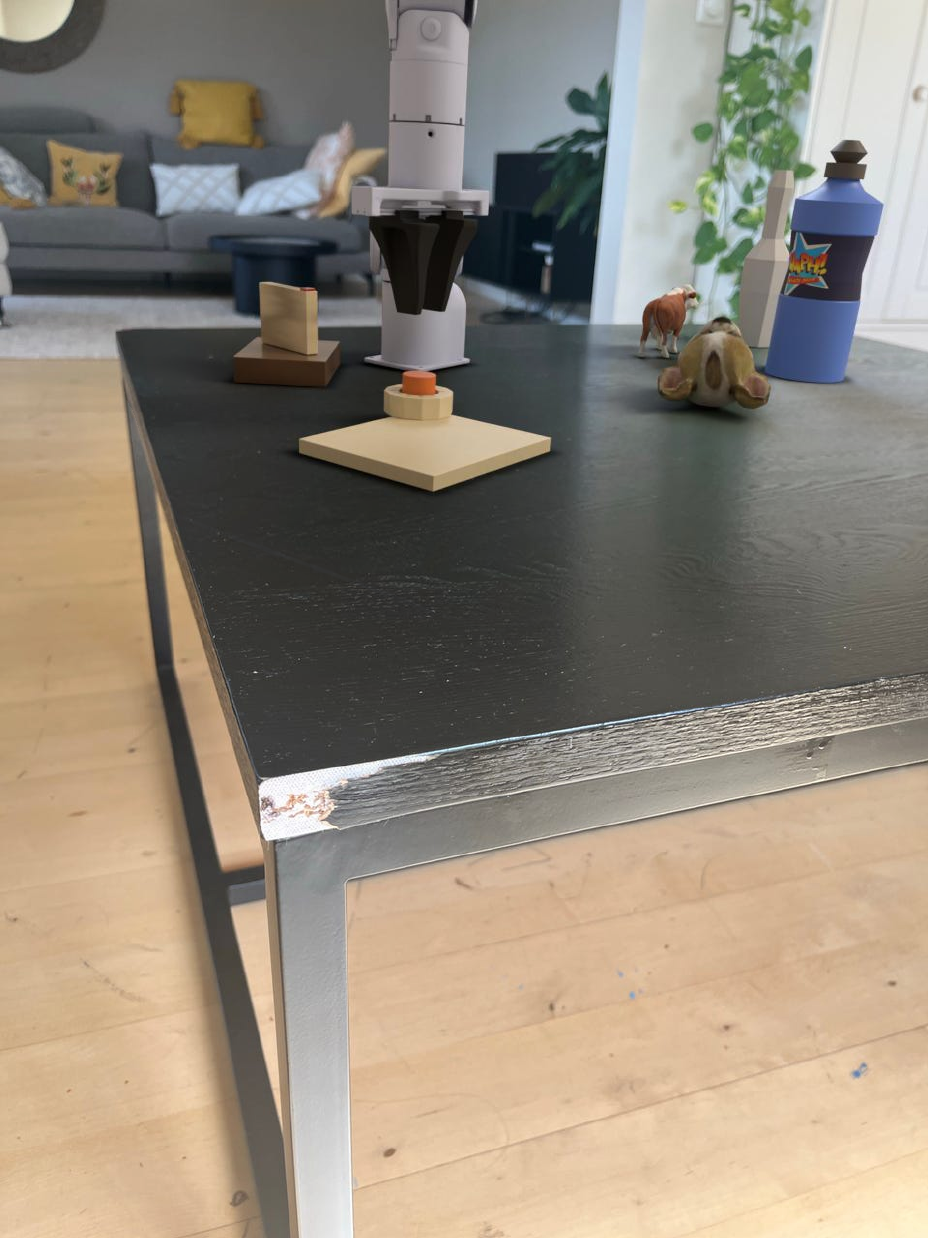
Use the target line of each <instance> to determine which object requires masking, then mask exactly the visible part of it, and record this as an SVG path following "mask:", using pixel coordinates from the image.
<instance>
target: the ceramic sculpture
mask: <svg viewBox="0 0 928 1238" xmlns="http://www.w3.org/2000/svg"><path fill="white" fill-rule="evenodd" d="M771 390H772V385H771V384H770V383H769V379H768V377H767V376H766V375H764V374H761V373H759V372H757V370H756V368H755V361H754V355H753V353H752V350H751V349H750V347H748V345H747V343H746V342H745V340H744V339H743V338H742V336H741V333H740V330H739V328H738V325H737V324H736V323H735V322H733V321H732V320H731V319H730V318H728V317H725V316H718V317H715V318H714V319H712V320H710V321H708V322H707V323H705V324H704V325H703V326H702V327H701V329H700V330H699V331H698V332H697V333H696V334H695V335H693V336H692V337H691V338H690V339H689V341H688V342H687V344H686V345H684V347H683V348H682V350H681V351H680V352H679V354H678V358H677V362H676V363H675V365H673V366H667V367H664V368H663V369H662V370H661V373H660V374H659V375H658V377H657V393H658V395H659V396H660V397H661V398H662V399H664V400H665V401H668V402H670V403H671V402H672V403H678V402H681V401H683V400H685V399H686V398H687V399H688V400H689V401H690V402H692V403H693V404H695V405H698V406H702V407H710V408H723V407H727V406H730V405H731V404H734V403H737V404H739V406H740V407H742V408H743V409H747V410H756V409H758V408H762V407H764V406H765V405H766V404H768V402H769V399H770V395H771Z"/></svg>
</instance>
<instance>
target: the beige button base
mask: <svg viewBox="0 0 928 1238" xmlns="http://www.w3.org/2000/svg"><path fill="white" fill-rule="evenodd" d="M453 405H454V391H453V390H451V389H450V388H447V387H445V386H440V385H436V389H435V395H421V396H420V395H409V394H404V393H402V383H400V384H394V385H389V386H387V387H385V389H383V412H384V413H385V414H387V415H388V417H385V418H380V419H376V420H372V421H367V422H363V423H360V424H359V423H358V424H355V425H350V426H347V427H343V428H338V429H334V430H330V431H326V432H322V433H318V434H313V435H309V436H305V437H299V439H298V453H299V454H302V455H305V456H308V457H312V458H315V459H319V460H322V461H326V462H329V463H332V464H337V465H339V466H343V467H347V468H350V469H354V470H357V471H361V472H364V473H367V474H371V475H374V476H378V477H381V478H384V479H389V480H392V481H394V482H399V483H403V484H406V485H409V486H412V487H416V488H420V489H423V490H425V491H426V490H427V491H430V492H435V491H438V490H442V489H444V488H447V487H450V486H453V485H456V484H458V483H462V482H465V481H467V480H470V479H473V478H476V477H478V476H479V477H480V476H482V475H485V474H487V473H491V472H494V471H496V470H499V469H502V468H506V467H508V466H511V465H514V464H517V463H520V462H522V461H527V460H528V459H532V458H534V457H537V456H540V455H543V454H545V453H549V452H551V444H552V437H549V436H546V435H542V434H541V435H540V434H537V433H533V432H528V431H523V430H521V429H514V428H511V427H507V426H502V425H497V424H493V423H489V422H485V421H480V420H476V419H471V418H467V417H463V416H458V415H455V414H452V413H453V408H454V407H453Z"/></svg>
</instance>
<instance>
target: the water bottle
mask: <svg viewBox="0 0 928 1238" xmlns="http://www.w3.org/2000/svg"><path fill="white" fill-rule="evenodd" d="M829 152H830V155H831V156H832V157H833V159H834V161H835V162H834V161H833V162H829V161H828V162H827V161H826V163H825V167H824V173H823V178H826V180H825V181H824V182H823V183H821V185H820V186H818V187H817V188H815V189H813V190H811V191H809V192H807V193H805V194H803V195H800V196H798V197H796V198H795V199H794V204H793V209H792V215H791V220H790V225H789V229H790V237H789V249H788V252H789V263H788V269H787V273H786V276H785V279H784V282H783V285H782V288H781V291H780V293H779V298H778V303H777V308H776V313H775V318H774V324H773V329H772V334H771V340H770V345H769V347H768V351H767V355H766V361H765V367H764V373H765V374H767V375H769V376H773V377H776V378H780V379H784V380H790V381H796V382H805V383H815V384H816V383H818V384H831V383H832V384H833V383H840V382H843V381H844V380H845V375H846V370H847V366H848V362H849V358H850V352H851V349H852V343H853V339H854V335H855V331H856V327H857V326H856V325H857V320H858V316H859V311H860V307H861V301H862V300H861V297H862V286H863V285H862V284H863V274H864V271H865V268H866V266H867V265H866V264H867V262H868V259H869V256H870V253H871V250H872V246H873V244H874V242H875V237H877V235H878V232H879V228H880V225H881V224H880V223H881V220H882V219H881V218H882V215H883V210H884V206H885V204H884V203H883V202H882V201H880V200H879V199H877V198H876V197H874V196H873V195H872V194H870V193H868V191H866V190H865V188H864V186H863V185H862V183H861V180H865V177H866V171H867V167H868V164H866V163H860V161H861V160H863V159H864V158H865V157H866V156H867V155H868V154H869V152H868V151H867V149H866V148H865V146H864V145H863V143H862V141H861V140H857V139H842V140H841V141H840V142H839V143H838V144H836V145H835V146H834V147H833V148H832V149H831V150H830V151H829Z"/></svg>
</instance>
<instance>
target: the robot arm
mask: <svg viewBox="0 0 928 1238" xmlns="http://www.w3.org/2000/svg"><path fill="white" fill-rule="evenodd" d="M384 3H385V14H386V19H387V27H388V28H387V30H388V51H389V53H390V54H391V60H390V62H389V105H388V106H389V107H388V109H389V113H388V117H389V118H388V120H389V122H388V168H387V169H388V172H387V173H388V174H387V175H388V178H387V185H352V186H351V215H353V216H367V217H368V229H369V230H370V234H369V235H370V237H369V250H370V251H369V262H370V263H369V266H370V271H372V272H373V273H374V275H375V276H376V275H377V276H380V281H381V342H380V345H381V347H380V348H381V349H380V354H379V355H373V356H367V357H364V361H363V362H364V363H367V364H372V365H376V366H377V365H378V366H382V367H387V368H392V369H397V370H403V371H405V372H407V371H426V372H430V371H431V372H432V371H435V370H440V369H447V368H450V367H456V366H461V365H465V364H470V361H471V360H470V358H467V357H465V340H466V339H465V338H466V319H467V303H466V299H465V295H464V292H463V291H462V289H461V288H460V286H458V285H457V284H456V283H454V282H455V279H458V276H460V275H461V274H462V272H463V263H464V255H465V253H466V251H467V249H468V247H469V245H470V243H471V242H472V240H473V238H474V237H475V235H476V234H477V233H478V219H475V218H465V217H464V216H480V217H487V216H489V208H490V206H489V205H490V190H484V189H471V188H468V189H467V188H463V177H464V176H463V175H464V153H465V152H464V151H465V132H466V130H465V129H466V127H465V126H466V110H467V91H468V89H467V87H468V86H467V85H468V66H469V64H468V63H469V61H468V60H469V46H470V45H469V44H470V43H469V42H470V31H469V30H473V26H474V23H475V19H476V15H477V9H478V0H385V2H384Z"/></svg>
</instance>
